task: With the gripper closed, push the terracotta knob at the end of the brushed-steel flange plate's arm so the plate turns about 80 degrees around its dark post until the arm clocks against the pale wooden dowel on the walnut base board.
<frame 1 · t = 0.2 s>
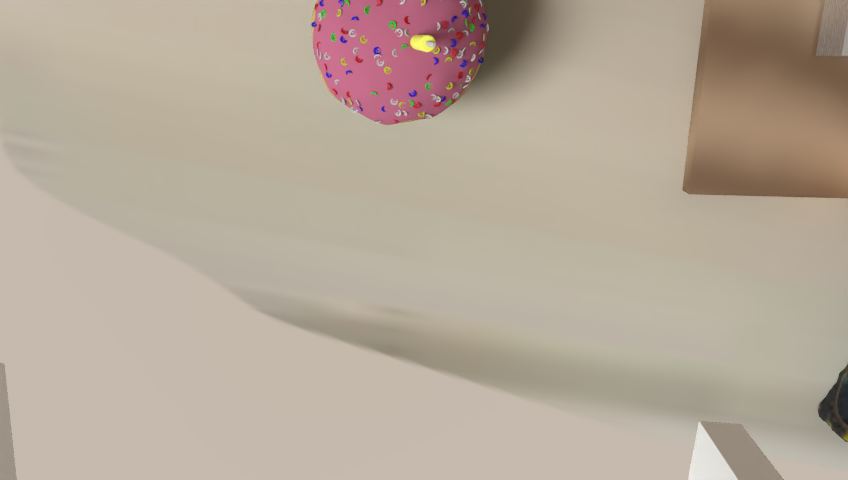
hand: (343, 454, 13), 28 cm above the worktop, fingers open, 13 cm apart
cupcake: (405, 39, 38), on the worktop
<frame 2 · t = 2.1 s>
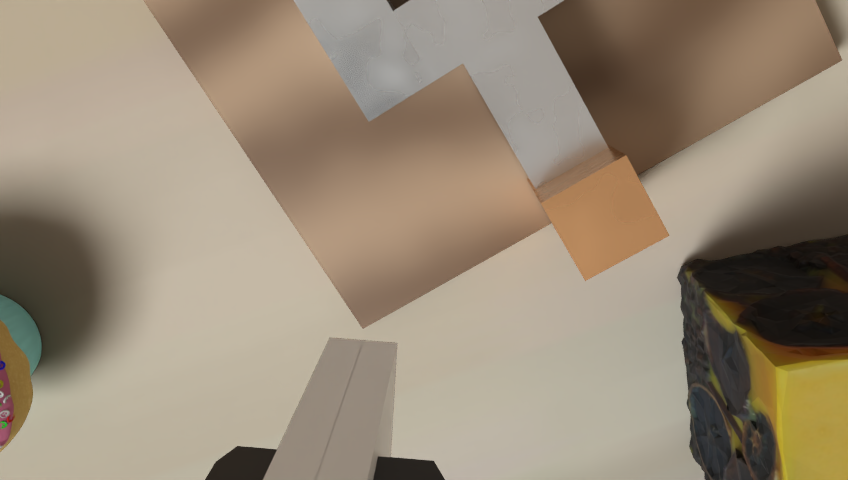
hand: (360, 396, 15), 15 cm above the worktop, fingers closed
flange: (481, 8, 24), point 4 cm above the worktop, hinge at 0.0°
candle: (792, 345, 31), on the worktop
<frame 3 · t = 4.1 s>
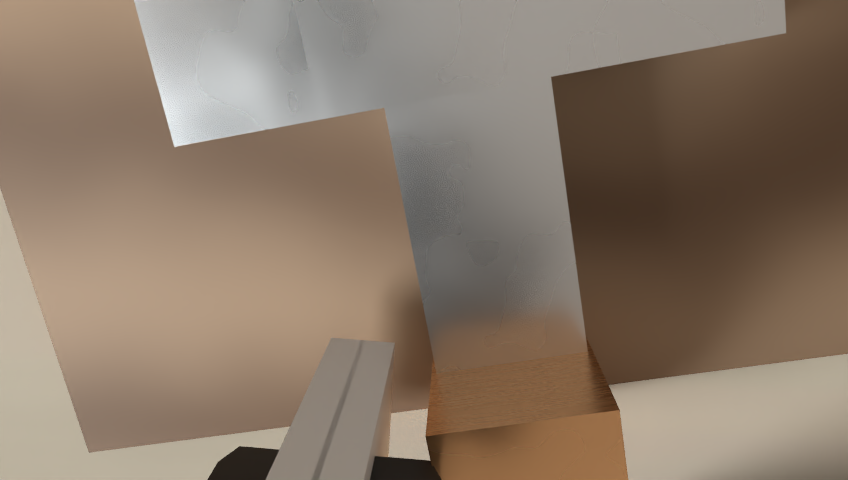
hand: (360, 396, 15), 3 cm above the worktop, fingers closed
flange: (454, 20, 12), point 4 cm above the worktop, hinge at 0.6°, touching gripper
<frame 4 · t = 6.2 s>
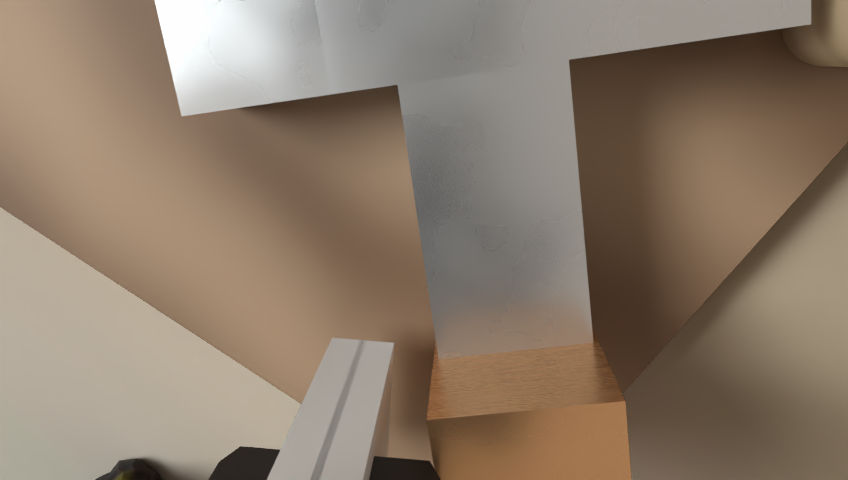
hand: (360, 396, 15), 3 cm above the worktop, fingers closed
dowel: (803, 18, 15), resting on base board
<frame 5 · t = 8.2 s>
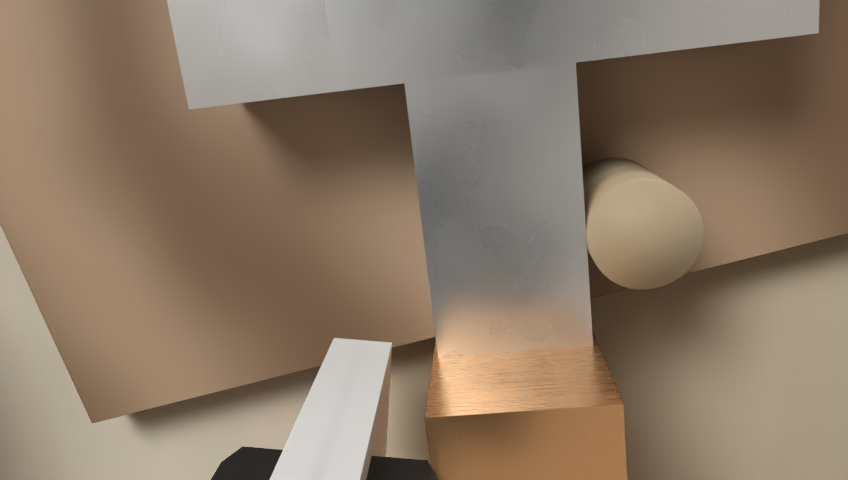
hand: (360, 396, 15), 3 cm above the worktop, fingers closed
dowel: (603, 192, 16), resting on base board
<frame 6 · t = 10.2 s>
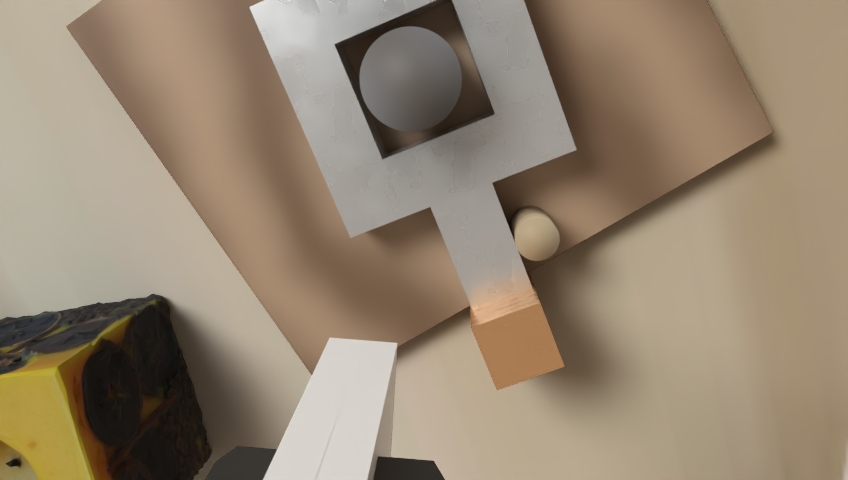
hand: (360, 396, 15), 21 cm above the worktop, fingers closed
base board: (419, 78, 33), on the worktop
flange: (450, 169, 31), point 4 cm above the worktop, hinge at 80.0°
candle: (109, 385, 38), on the worktop
dowel: (527, 220, 35), resting on base board
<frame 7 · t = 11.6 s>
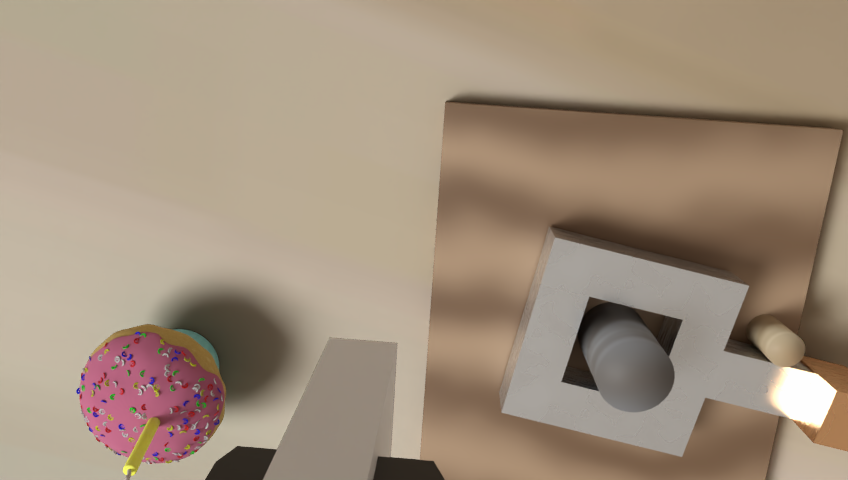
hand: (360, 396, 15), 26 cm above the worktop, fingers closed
base board: (606, 325, 42), on the worktop
cupcake: (183, 362, 45), on the worktop
flange: (692, 368, 39), point 4 cm above the worktop, hinge at 80.0°
dowel: (754, 322, 42), resting on base board
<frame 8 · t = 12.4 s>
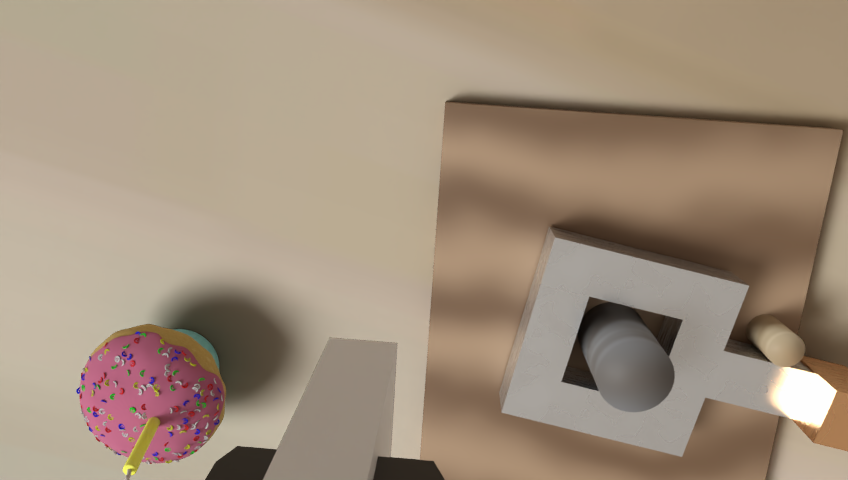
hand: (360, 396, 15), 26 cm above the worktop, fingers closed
base board: (606, 325, 42), on the worktop
cupcake: (183, 362, 45), on the worktop
flange: (692, 368, 39), point 4 cm above the worktop, hinge at 80.0°
dowel: (754, 322, 42), resting on base board
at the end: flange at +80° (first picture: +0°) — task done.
